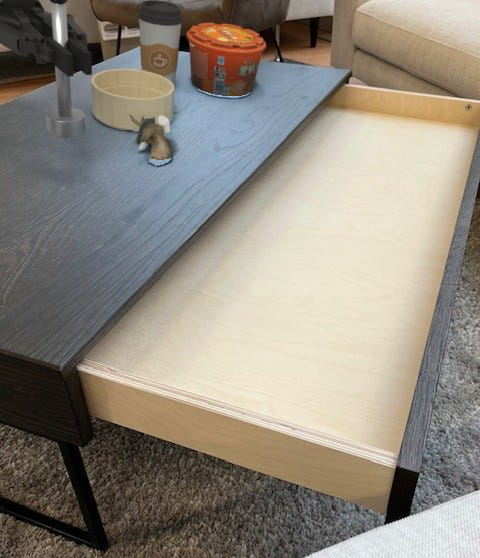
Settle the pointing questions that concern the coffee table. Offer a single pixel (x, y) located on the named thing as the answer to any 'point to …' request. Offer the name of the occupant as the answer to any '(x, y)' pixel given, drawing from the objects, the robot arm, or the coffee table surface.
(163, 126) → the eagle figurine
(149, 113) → the bowl
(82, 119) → the ball-top lever stand
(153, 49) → the coffee cup
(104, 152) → the coffee table surface
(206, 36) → the food container
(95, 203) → the coffee table surface
